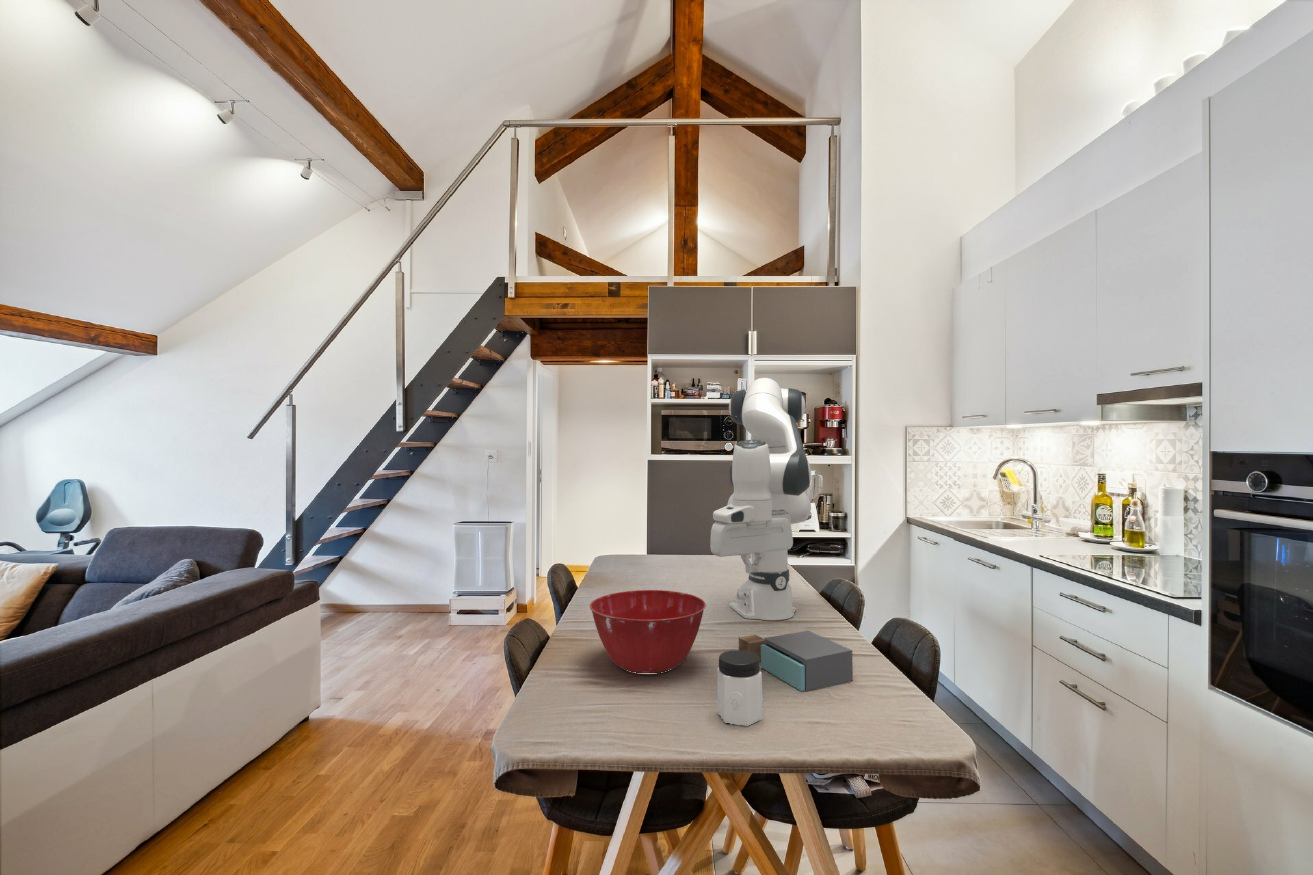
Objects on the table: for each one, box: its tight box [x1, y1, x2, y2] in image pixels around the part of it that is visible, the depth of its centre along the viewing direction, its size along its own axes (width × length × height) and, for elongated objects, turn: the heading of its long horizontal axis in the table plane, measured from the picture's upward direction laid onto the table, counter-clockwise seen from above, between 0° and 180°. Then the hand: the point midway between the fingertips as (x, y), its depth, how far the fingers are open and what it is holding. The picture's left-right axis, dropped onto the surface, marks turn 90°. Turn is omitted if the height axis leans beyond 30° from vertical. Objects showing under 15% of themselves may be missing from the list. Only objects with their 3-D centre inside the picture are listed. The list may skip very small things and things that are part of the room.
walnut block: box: [738, 634, 764, 663], centre depth 157 cm, size 5×5×5 cm
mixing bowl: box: [589, 589, 707, 673], centre depth 154 cm, size 28×28×16 cm
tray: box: [760, 644, 805, 692], centre depth 146 cm, size 16×13×5 cm
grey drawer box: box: [763, 630, 854, 692], centre depth 147 cm, size 16×13×7 cm
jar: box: [716, 649, 763, 727], centre depth 125 cm, size 9×8×12 cm
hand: (753, 572), depth 142 cm, fingers closed
